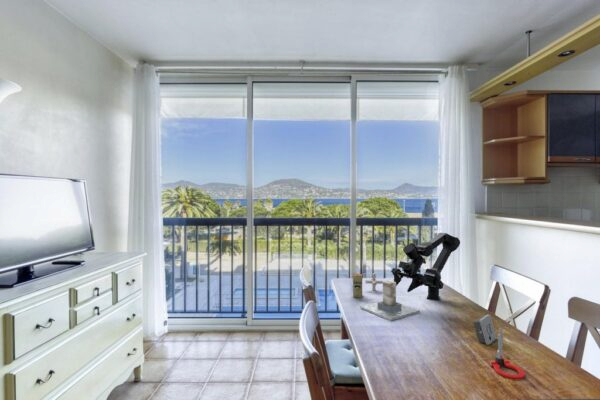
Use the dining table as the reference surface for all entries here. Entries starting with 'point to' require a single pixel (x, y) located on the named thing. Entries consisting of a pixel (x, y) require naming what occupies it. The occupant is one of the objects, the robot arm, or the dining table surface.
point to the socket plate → (390, 310)
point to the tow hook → (505, 362)
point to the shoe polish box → (357, 285)
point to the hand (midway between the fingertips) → (400, 289)
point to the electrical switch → (485, 329)
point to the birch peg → (389, 293)
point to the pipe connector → (373, 282)
